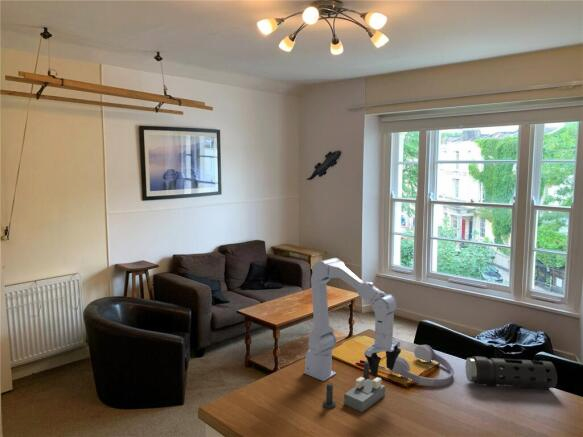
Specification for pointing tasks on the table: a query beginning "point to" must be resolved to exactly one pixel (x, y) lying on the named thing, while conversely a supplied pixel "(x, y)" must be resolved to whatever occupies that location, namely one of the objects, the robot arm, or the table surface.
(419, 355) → the headphones
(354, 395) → the block
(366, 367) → the cord stand
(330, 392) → the post
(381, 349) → the robot arm
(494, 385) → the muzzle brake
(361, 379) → the block
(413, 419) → the table surface
